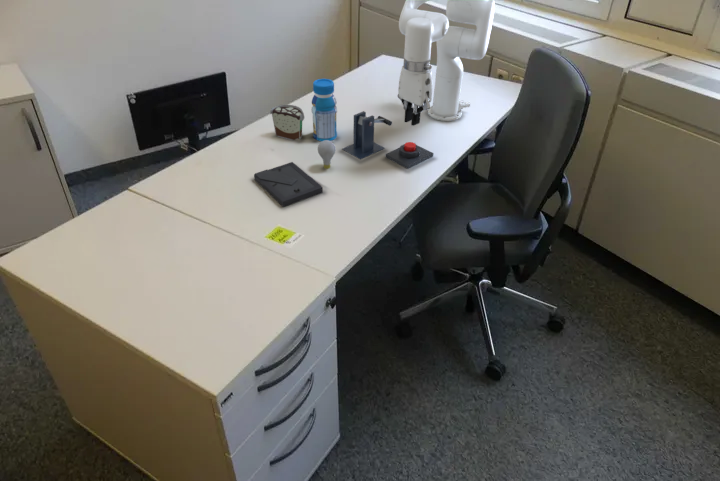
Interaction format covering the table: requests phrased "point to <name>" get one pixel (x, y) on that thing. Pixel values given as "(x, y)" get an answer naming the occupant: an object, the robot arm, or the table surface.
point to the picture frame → (288, 184)
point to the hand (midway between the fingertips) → (411, 122)
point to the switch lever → (376, 120)
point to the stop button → (410, 147)
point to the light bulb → (326, 152)
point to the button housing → (409, 156)
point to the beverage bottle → (324, 110)
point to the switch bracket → (363, 138)
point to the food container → (287, 121)
